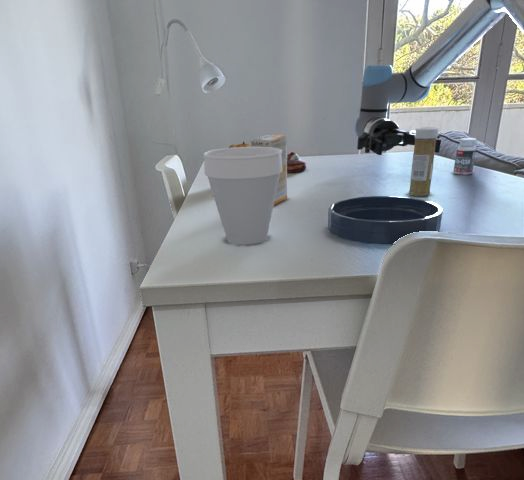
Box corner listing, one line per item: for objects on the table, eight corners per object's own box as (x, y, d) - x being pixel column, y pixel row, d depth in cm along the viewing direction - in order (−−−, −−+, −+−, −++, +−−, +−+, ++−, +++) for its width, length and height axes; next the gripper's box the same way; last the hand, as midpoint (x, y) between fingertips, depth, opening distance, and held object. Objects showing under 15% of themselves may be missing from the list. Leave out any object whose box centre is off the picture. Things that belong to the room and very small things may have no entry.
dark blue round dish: (416, 215, 88) (418, 193, 86) (457, 244, 72) (461, 218, 70) (319, 220, 88) (320, 198, 86) (340, 250, 72) (341, 224, 70)
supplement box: (268, 197, 107) (266, 134, 100) (288, 198, 105) (287, 134, 99) (252, 205, 101) (248, 138, 94) (272, 207, 99) (270, 139, 92)
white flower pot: (288, 247, 74) (287, 154, 67) (210, 252, 73) (201, 158, 67) (279, 227, 85) (277, 145, 78) (211, 230, 84) (203, 148, 77)
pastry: (290, 168, 143) (289, 150, 140) (311, 169, 139) (312, 151, 136) (275, 172, 137) (275, 153, 134) (298, 173, 133) (298, 154, 131)
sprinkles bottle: (434, 194, 103) (443, 127, 97) (420, 197, 101) (429, 129, 95) (417, 191, 107) (425, 126, 100) (403, 194, 105) (410, 128, 98)
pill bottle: (450, 174, 124) (456, 139, 120) (455, 171, 128) (461, 137, 123) (469, 175, 122) (475, 140, 118) (474, 172, 125) (480, 138, 121)
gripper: (424, 147, 128) (459, 162, 111) (335, 151, 127) (355, 167, 109) (429, 116, 124) (465, 127, 107) (336, 120, 123) (357, 131, 105)
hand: (409, 147), depth 108 cm, fingers open, 13 cm apart
